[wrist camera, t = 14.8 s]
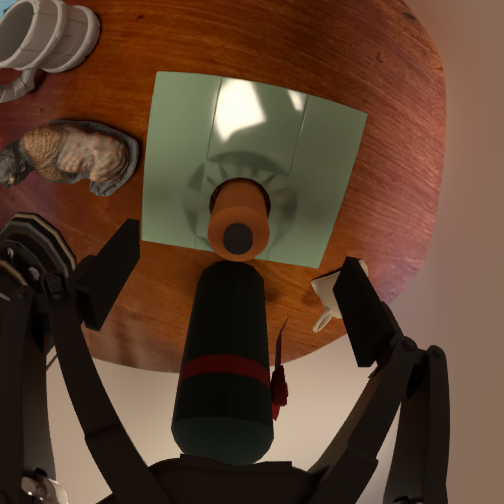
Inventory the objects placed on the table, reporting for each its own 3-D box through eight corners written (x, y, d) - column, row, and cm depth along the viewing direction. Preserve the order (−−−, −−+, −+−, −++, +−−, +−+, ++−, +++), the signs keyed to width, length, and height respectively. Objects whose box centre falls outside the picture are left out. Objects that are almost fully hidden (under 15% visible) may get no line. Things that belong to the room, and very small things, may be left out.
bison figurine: (150, 125, 22) (97, 142, 13) (137, 193, 25) (90, 240, 17) (55, 113, 20) (-11, 130, 11) (50, 173, 23) (-9, 208, 15)
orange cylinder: (267, 180, 25) (277, 218, 17) (258, 221, 27) (262, 274, 20) (221, 172, 25) (209, 206, 17) (215, 214, 27) (201, 264, 19)
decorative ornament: (369, 282, 32) (385, 311, 27) (308, 307, 33) (316, 338, 29) (363, 257, 30) (381, 285, 25) (298, 284, 31) (306, 316, 27)
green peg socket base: (357, 112, 22) (368, 113, 19) (313, 257, 30) (317, 269, 27) (165, 73, 20) (156, 71, 17) (149, 230, 28) (141, 241, 25)
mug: (116, 30, 16) (40, 4, 6) (46, 115, 20) (-35, 139, 10) (83, -2, 13) (13, -27, 3) (20, 78, 17) (-55, 91, 6)
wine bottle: (275, 318, 34) (298, 566, 8) (195, 308, 33) (161, 563, 7) (291, 268, 30) (345, 576, 4) (200, 255, 29) (145, 581, 3)
